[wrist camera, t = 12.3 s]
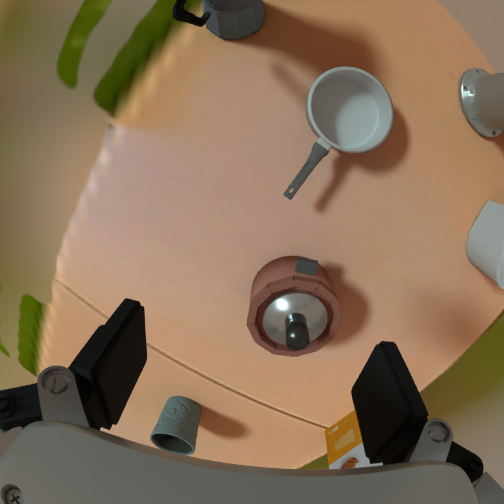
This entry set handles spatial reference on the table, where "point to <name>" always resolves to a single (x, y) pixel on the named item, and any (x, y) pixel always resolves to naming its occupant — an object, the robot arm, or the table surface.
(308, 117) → the saucepan
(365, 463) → the cereal box
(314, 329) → the lid
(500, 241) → the toilet tissue
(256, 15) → the moka pot
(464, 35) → the table surface
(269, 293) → the pot
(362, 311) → the table surface
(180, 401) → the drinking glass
